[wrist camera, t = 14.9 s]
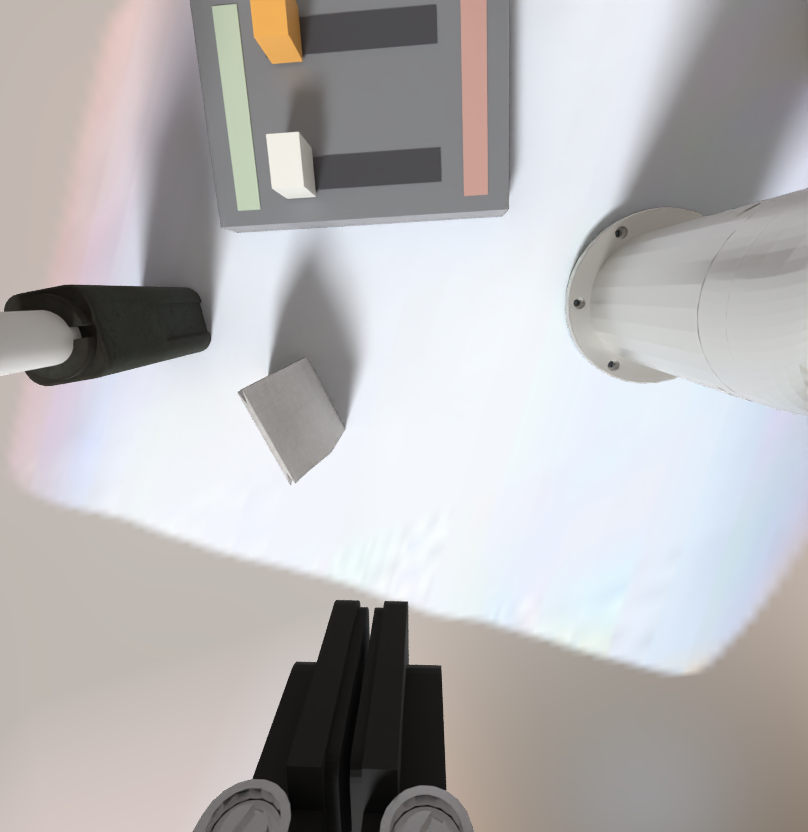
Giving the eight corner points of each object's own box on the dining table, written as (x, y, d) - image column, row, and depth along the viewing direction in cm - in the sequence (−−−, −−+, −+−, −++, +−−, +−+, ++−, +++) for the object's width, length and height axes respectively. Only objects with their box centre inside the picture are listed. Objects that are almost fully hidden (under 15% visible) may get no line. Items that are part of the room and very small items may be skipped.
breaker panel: (501, -10, 32) (520, -86, 25) (502, 216, 35) (518, 199, 29) (209, 17, 33) (156, -50, 26) (237, 232, 36) (196, 219, 30)
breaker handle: (297, 6, 30) (282, -29, 26) (302, 61, 30) (288, 34, 27) (266, 8, 30) (246, -26, 26) (272, 63, 30) (254, 37, 27)
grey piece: (306, 356, 38) (266, 377, 29) (345, 429, 40) (318, 472, 30) (267, 375, 39) (215, 403, 29) (307, 446, 40) (269, 495, 31)
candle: (136, 296, 38) (-379, 301, 14) (197, 285, 37) (-225, 269, 13) (155, 359, 39) (-287, 466, 15) (214, 349, 39) (-144, 441, 14)
